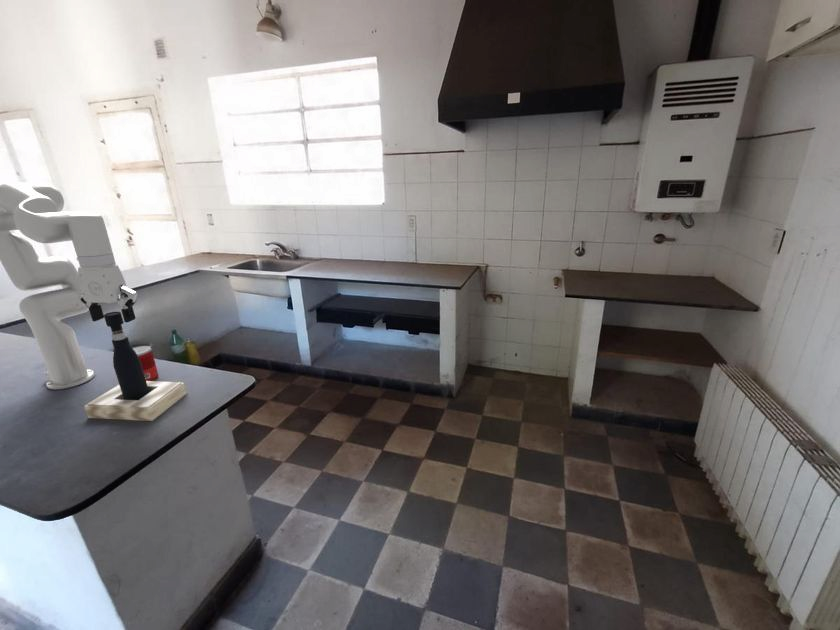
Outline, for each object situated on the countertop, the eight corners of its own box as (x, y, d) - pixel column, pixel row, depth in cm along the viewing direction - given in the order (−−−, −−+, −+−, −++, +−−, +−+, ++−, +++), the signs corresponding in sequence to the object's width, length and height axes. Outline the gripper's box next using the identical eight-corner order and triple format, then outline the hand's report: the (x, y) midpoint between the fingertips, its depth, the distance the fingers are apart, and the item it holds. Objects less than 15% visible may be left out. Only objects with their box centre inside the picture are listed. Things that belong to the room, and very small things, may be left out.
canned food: (163, 374, 137) (156, 346, 133) (146, 385, 129) (138, 356, 126) (144, 373, 138) (136, 345, 134) (125, 384, 130) (116, 355, 126)
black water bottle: (131, 413, 114) (102, 319, 104) (123, 406, 118) (94, 314, 107) (155, 403, 119) (129, 312, 109) (147, 397, 122) (121, 308, 112)
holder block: (88, 417, 112) (83, 404, 110) (129, 391, 126) (126, 379, 124) (152, 421, 110) (148, 407, 109) (186, 393, 124) (183, 381, 123)
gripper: (54, 263, 100) (74, 324, 106) (115, 264, 99) (132, 326, 104) (80, 257, 107) (97, 314, 113) (138, 258, 106) (152, 316, 112)
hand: (114, 320), depth 109 cm, fingers open, 9 cm apart
